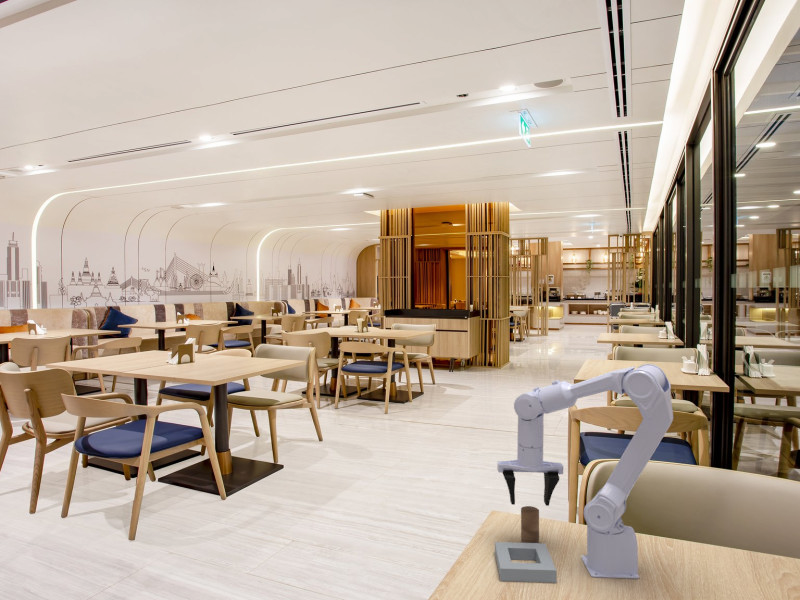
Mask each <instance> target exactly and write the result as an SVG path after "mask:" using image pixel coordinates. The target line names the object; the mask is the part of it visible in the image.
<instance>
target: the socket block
mask: <svg viewBox="0 0 800 600" xmlns="http://www.w3.org/2000/svg"><path fill="white" fill-rule="evenodd" d="M494 555H495V561H496V565H497V570H498V574H499V580H500V581H501V582H519V583H520V582H522V583H523V582H524V583H525V582H526V583H545V584H546V583H553V584H556V583H557V568H556V565H555V564H554V561H553V559H552V556H551V554H550V551H549V549H548V546H547V544H546V543H544V542H543V543H540V542H539V543H521V542H511V541H510V542H509V541H506V542H505V541H494ZM512 560H520V561H521V560H522V561H535V562H512Z"/></svg>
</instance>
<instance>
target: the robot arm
mask: <svg viewBox="0 0 800 600" xmlns="http://www.w3.org/2000/svg"><path fill="white" fill-rule="evenodd" d="M635 368H636V366H630V367H629V366H628V367H625V368H620V369H615V370H612V371H609V372H605V373H603V374H600V375H597V376H594V377H591V378H589V379H586V380H583V381H580V382H577V383H574V384H572V383H570V382H568V381H566V380H562V381H560V379H556V380H553V381H552V382H551V384H550V385H547V386H544V387H539V386H537V387H533V389H532V390H530V391H527V392H524V393H522V394H520V395H519V396H518V397H517V398H516V399H515V400H514V403H513V409H514V412H515V414H516V415H517V450H516V451H517V452H516V453H517V454H516V455H517V456H516V457H517V458H516V459H514V460H512V459H511V460H505V461H504V460H502V461H501V460H500V461H497V468H496V470H497V472H498V473H502V475H503V478H504V480H505V482H506V485H507V489H508V493H509V497H510V498H509V500H510V504H511V505H514V506H515V504H516V495H515V494H516V493H515V490H516V489H515V487H516V486H515V485H516V476H515V473H540V474H541V473H543V481H544V483H543V484H544V489H543V503H544V504H545V506H546V507H548V506H550V502H551V498H552V495H553V492H554V490H555V489H556V486H557V485H558V483H559V482H560V475H564V465H563V464H562V463H561V462H553V461H546V460H545V461H544V428H545V427H544V426H545V425H544V415H545V414H546V415H548V414H553V413H555V412H558V411H563V410H565V409H569V408H572V407H574V406H575V405H576V403H577V401H578V399H581V398H584V397H586V398H587V397H589V396H593V395H597V394H600V393H601V394H602V393H605V392H608V391H612V392H614V393H616V394H619V395H624V394H626V395H627V396H628V398H630V400H631V401H632V402H633V403H634V404H635V405H636V407H637V409H638V411H639V413H640V415H641V416H642V421H641V423H640V424H639V426H638V427H637V429H636V431H635V433H634V434H633V436H632V438H631V440H630V441H629V443H628V444H627V446H626V448H625V449H624V451H623V454H622V455H621V457H620V458H619V460H618V462H617V464H616V465H615V467H614V469H613V470H612V472H611V474H610V476H609V477H608V479H607V481H606V483H604V485H603V487H602V488H601V489H599V490H598V491H597V493H595V494H596V495H595V496H594V497H593V498H591V500H590V501H589V502H588V503H586V505H584V509H583V518H584V520H585V523H586V540H587V541H586V553H587V554H586V555H585V554H584V555H582V554H581V557H580V558H581V560H582V563H584V564H583V565H584V566H585V568H586V569H587V571H588V573H589V575H590V577H591V578H605V579H606V578H608V579H609V578H610V579H632V580H633V579H637V580H638V579H639V578H640V575H639V574H638V571H639V568H638V566H639V565H638V563H639V562H638V560H639V556H638V555H639V553H638V550H639V548H638V547H639V545H638V540H637V534H636V532H635V530H634V528H633V527H632V526H629V525H625V524H624V522H623V519H622V516H623V515H624V513H626V510H627V499H628V497H629V495H630V494H631V491H632V489H633V488H634V486H635V485H636V482H637V481H638V479H639V477H641V474H642V473H643V471H644V470H645V469H646V467H647V465H648V463H649V461H650V460H651V458H652V456H653V454H654V453H655V452H656V449H657V448H658V447H659V446H660V445H659V444H660V443H661V441H662V440H663V438H664V437H665V435H666V433H667V432H668V430H669V428H671V427H670V426H671V425H672V423H673V421H674V411H673V403H672V402H673V401H672V395H671V393H672V389H671V388H672V385H671V383H670V381H669V378H668V377H667V375H666V373H665V372H664V370H663V369H662V368H661V367H659V366H658V365H656V364H654V363H653V364H651V363H645V364H642V365H640V366H638V367H637V368H636V369H635Z"/></svg>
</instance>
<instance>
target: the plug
mask: <svg viewBox="0 0 800 600" xmlns="http://www.w3.org/2000/svg"><path fill="white" fill-rule="evenodd" d="M520 534H521V535H520V539H521V540H520V541H521V542H520V543H540V510H539V508H537V507H535V506H530V505H528V506H527V505H526V506H522V507H521V508H520Z"/></svg>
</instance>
